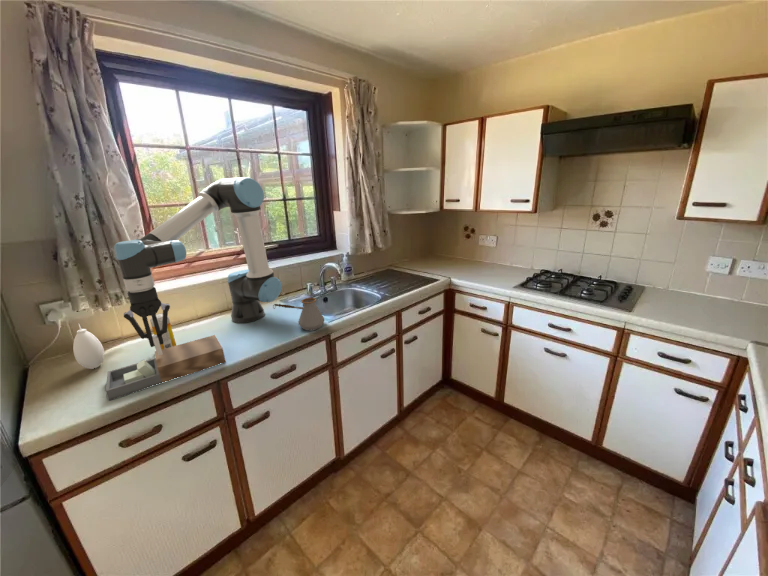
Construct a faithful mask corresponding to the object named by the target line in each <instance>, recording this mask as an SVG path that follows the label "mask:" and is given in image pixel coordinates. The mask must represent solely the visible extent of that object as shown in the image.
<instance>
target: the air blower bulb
mask: <svg viewBox="0 0 768 576" xmlns="http://www.w3.org/2000/svg"><path fill="white" fill-rule="evenodd" d="M77 324H78V327H79V329H78V330H77V331H76V335H75V336H74V339H73V345H72V346H73V347H72V348H73V349H72V350H73V355H74V358H75V360H76V362H77V363H78V365H80V366H81V367H83V368H84V369H89V370H92V369H93V370H95V369H97V368H99V367H100V366H101V364H102V363H104V359H105V349H104V346H103V344H102V342H101V341H100V340H99V339H98V337H97V336H96V335H94V334H93V333H92V332H90V331H88V330H87V328H82V326H81V325H80V323H79V322H78V323H77ZM94 368H95V369H94Z"/></svg>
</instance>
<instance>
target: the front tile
mask: <svg viewBox="0 0 768 576" xmlns="http://www.w3.org/2000/svg"><path fill="white" fill-rule="evenodd" d="M123 375H124V381H125V384H127V383H130V382H133V381H136V380H140V379H143V378H144V376H143V374H142V373H140V372H139V371H138V370H135V371H132V372H129V373H126V374H123Z"/></svg>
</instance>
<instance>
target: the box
mask: <svg viewBox="0 0 768 576" xmlns="http://www.w3.org/2000/svg"><path fill="white" fill-rule="evenodd" d="M145 361H146V362H147V363H148V364H150V365H151V366H152V367H153V368H154V369H155V373H156V375H152V376H149V377H145V376H144V375H143V376H144V378H143V379H140V380H136V381H133V382H130V383H127V384H125V381H124V375H123V374H126V373H129V372H132V371H135V370H137V364H138V363H139V362H136V363H134V364H130V365H126V366H123V367H119V368H115V369H112V370H109V371H107V375H106V385H105V393H106V396H107V399H108V401H112V400H116V399H118V398H119V399H120V398H122V397H124V396H128V395H131V394H134V393H137V392H139V390H141V391H143V390H142V389H144V388H147V387H150V386H152V385H156V384H159V383H162V381H161V378H160V375H159V371H158V368H157V363H156V357H154V358H150V359H148V360H145ZM162 384H163V383H162ZM159 385H160V384H159ZM156 386H157V385H156ZM150 388H151V387H150ZM147 389H148V388H147ZM144 390H145V389H144ZM136 391H137V392H136ZM133 392H134V393H133Z"/></svg>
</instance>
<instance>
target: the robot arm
mask: <svg viewBox="0 0 768 576" xmlns="http://www.w3.org/2000/svg"><path fill="white" fill-rule="evenodd" d="M264 200H265V193H264V190H263V188H262V186H261V184H260V183H259V182H258V181H257V180H256V179H254V178H252V177H246V176H245V177H244V176H240V177H225V178H220V179H217V180H215V182H214V181H213V182H212V183H211V184H209V185H208V186H207V187H205V188H204V189H202V190H201V191H199V193H198V194H197V197H196V198H195V199H194V200H192V201H191V202H189V203H188V204H187V205H185V206H184V207H183V208H181V209H180V210H178V211H177V212H175V214H173V215H172V216H170V217H169V218H168V219H166V220H165V221H163V222H162V223H160V224H159V225H158V226H157V227H155V228H154V229H153V230H151V231H150V232H148V233H147V234H145V235H144V236H142V237H141V238H137V239H132V240H123V241H119V242H116V243H115V244H114V245H113V249H114V253H115V259H116V260H117V261H116V262H117V265H118V266H119V270H120V273H121V276H122V280H123V283H124V286H125V290H126V291H127V292H126V293H127V297H128V300H129V303H130V306H129V310H127V311H125V312H123V318H124V319H126V320H127V321H128V322H130V325H131V326H132V327H133V328H134V330H135V332H136V333H137V334H138V336H139V337H140V339H143V340H144V339H147V340H148V342H149V346H150V347H151V348H153V347H154V349H155V351H156V352H157V355H162V350H161V346H160V345H161V344H163V343H164V342H163V338H162V334H164V333H166V332H167V319H168V317H169V315H168V314H169V310H170V309H171V306H170V303H164V302H162V301H161V300H160V299H159V296H158V293H157V289H156V287H155V285H156V284H155V281H154V277H153V274H152V270H151V269H152V268H153V269H154V268H156V267H160V266H165V265H170V264H176V263H179V262H181V261H184V260H185V259H186V257H187V251H186V247H185V245H184V243H183V242H182V241H180V240H179V239H181V238H182V237H183V236H184V235H186V234H187V233H189V231H191V230H193V228H195V227H196V226H197V225H198V224H199V223H201V222H202V221H204V219H206V218H207V217H208V216H210V215H211V214H214V213H215V214H216V213H218V212H219V211H221V210H222V209H226V208H230V212H231V214H232V215H234V216H235V217H236V220H237V221H236V222H237V226H238V228H239V235H240V238H241V242H242V247H243V251H244V255H245V261H246V264H247V268H248V269H243V270H238V271H234V272H231V273H229V274H228V275H227V284H228V286H229V287H228V288H229V292H230V296H231V302H232V306H231V307H232V308H231V314H230V318H231V321H232V322H233V323H236V324H237V323H238V324H245V323H252V322H255V321H257V320H260V319H261V318H263V317H264V316H265V309H264V307H263V305H262V303H272V302H274V301H275V300H277V299H278V297H280V294H281V292H282V287H283V286H282V282H281V280H280V278H278V277H276V276H275V274H274V270H273V269H272V268H270V265H269V262H268V257H267V251H266V247H265V246H266V245H265V242H264V237H263V233H262V228H261V222H260V217H259V213H260V212H261V210H262V209H261V206H262V205H263V202H264ZM261 302H262V303H261ZM160 308H161V310H162V313H163V320H162V329H161V330H160V328H159V324H158V321H157V317H156V314H158V311H159V310H160ZM134 314H135V315H137V316H139V317H141V318H142V319H141V320H142V322H143V326H144V329H145V332H146V333H145V332H144V330H143V329H142V327H141V326H140V324H139V323H138V322H137V320H136V318H135V317H134ZM151 316H152V319H153V323H154V326H155V330H156V333H157V335H154V334H152V330H151V327H150V326H151V325H150V323H149V319H148V317H151Z"/></svg>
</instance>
